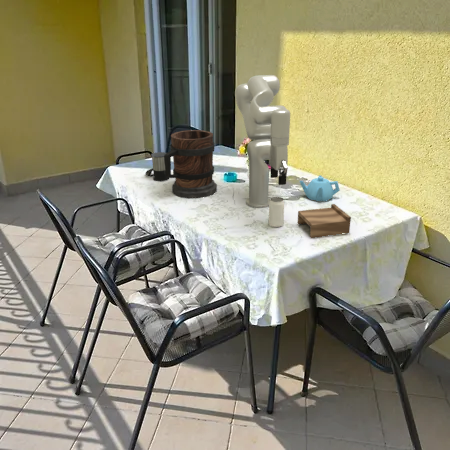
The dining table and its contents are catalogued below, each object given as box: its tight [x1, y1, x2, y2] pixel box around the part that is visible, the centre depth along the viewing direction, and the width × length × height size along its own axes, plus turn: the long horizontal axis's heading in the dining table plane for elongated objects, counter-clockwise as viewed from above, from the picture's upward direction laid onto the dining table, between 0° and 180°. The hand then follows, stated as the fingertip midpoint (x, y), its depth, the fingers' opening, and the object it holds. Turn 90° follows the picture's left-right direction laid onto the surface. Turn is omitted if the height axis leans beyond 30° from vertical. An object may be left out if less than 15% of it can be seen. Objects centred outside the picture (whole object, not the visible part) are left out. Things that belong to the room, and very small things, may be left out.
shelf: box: [297, 203, 352, 239], centre depth 183 cm, size 15×17×8 cm
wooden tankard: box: [164, 129, 218, 200], centre depth 222 cm, size 24×30×30 cm
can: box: [268, 196, 285, 228], centre depth 187 cm, size 6×6×12 cm
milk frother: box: [145, 151, 172, 182], centre depth 248 cm, size 14×16×15 cm
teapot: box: [299, 175, 341, 202], centre depth 216 cm, size 15×15×11 cm
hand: (278, 180), depth 181 cm, fingers open, 9 cm apart
